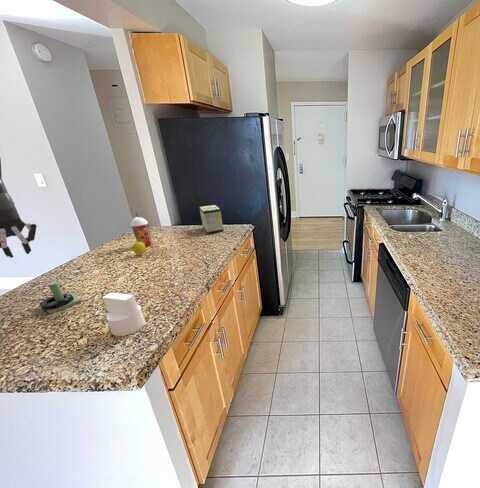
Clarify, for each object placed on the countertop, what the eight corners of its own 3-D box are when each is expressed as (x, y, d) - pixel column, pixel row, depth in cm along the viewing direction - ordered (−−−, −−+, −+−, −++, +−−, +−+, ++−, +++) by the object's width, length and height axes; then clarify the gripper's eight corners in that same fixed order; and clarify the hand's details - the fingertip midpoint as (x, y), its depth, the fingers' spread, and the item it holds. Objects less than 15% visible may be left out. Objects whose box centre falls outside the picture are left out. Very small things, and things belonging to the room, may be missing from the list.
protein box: (218, 225, 188) (214, 204, 182) (224, 231, 176) (220, 209, 170) (202, 228, 182) (198, 206, 176) (207, 234, 170) (203, 211, 165)
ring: (46, 312, 92) (44, 308, 91) (38, 305, 96) (36, 301, 95) (76, 300, 99) (75, 297, 98) (68, 294, 103) (66, 291, 102)
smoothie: (156, 242, 157) (148, 210, 150) (149, 248, 149) (139, 214, 142) (142, 243, 157) (133, 210, 149) (133, 248, 149) (123, 214, 141)
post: (49, 314, 93) (39, 292, 89) (42, 306, 97) (32, 285, 94) (81, 302, 100) (72, 281, 96) (73, 295, 104) (64, 275, 101)
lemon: (132, 256, 138) (128, 242, 135) (141, 252, 143) (137, 239, 140) (141, 257, 137) (136, 243, 134) (149, 253, 142) (146, 240, 139)
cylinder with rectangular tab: (105, 334, 83) (92, 302, 79) (129, 316, 91) (119, 287, 87) (129, 337, 82) (117, 306, 77) (151, 319, 90) (142, 290, 85)
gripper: (25, 201, 92) (44, 246, 98) (-40, 209, 81) (-14, 259, 87) (31, 204, 88) (50, 251, 94) (-37, 213, 77) (-10, 265, 83)
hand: (19, 254), depth 91 cm, fingers open, 3 cm apart
